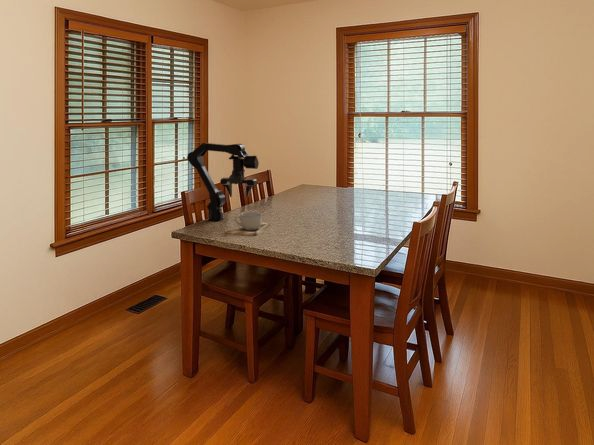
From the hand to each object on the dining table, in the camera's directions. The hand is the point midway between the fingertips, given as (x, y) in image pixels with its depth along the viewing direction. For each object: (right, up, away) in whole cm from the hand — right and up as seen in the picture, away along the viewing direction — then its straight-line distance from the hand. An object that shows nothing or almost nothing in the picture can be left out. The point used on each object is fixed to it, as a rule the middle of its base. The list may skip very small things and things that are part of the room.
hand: (239, 197), depth 242 cm
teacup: (+6, -17, -13) cm, 22 cm away
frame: (+6, -17, -14) cm, 22 cm away
